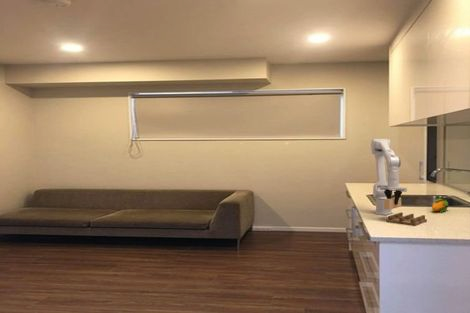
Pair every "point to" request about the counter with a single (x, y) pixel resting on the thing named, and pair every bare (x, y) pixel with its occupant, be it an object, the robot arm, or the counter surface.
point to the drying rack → (406, 219)
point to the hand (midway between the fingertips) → (392, 204)
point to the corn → (440, 205)
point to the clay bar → (391, 203)
